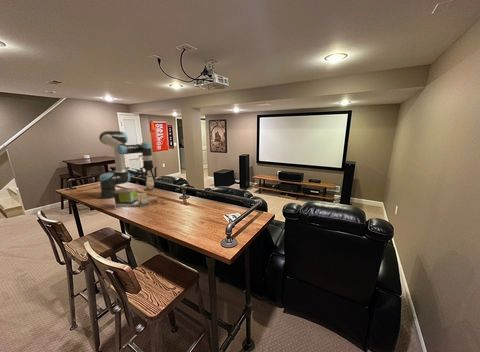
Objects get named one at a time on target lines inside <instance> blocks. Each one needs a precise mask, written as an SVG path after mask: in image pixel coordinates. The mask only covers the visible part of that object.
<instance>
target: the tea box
mask: <svg viewBox="0 0 480 352" xmlns="http://www.w3.org/2000/svg"><path fill="white" fill-rule="evenodd" d="M137 190H138V189H137V188H136V187H135V188H130V187H129V188H128V187H126V188H118V189H116V191H114V197H113V198H114V203H115V208H117V207H133V206H136V204H139V197H138V191H137Z"/></svg>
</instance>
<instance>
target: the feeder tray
mask: <svg viewBox="0 0 480 352" xmlns="http://www.w3.org/2000/svg"><path fill="white" fill-rule="evenodd" d="M157 198H158V196H151V197H147V201H150V200H156V199H157Z"/></svg>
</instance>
